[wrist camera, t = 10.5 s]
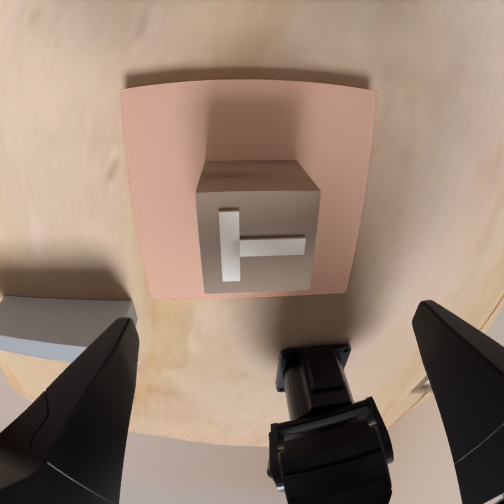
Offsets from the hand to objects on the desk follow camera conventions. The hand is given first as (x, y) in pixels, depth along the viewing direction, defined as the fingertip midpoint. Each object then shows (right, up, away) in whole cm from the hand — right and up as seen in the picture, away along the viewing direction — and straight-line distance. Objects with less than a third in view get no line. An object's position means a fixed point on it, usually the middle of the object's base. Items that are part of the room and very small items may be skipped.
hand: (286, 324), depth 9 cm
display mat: (-1, +5, +10) cm, 11 cm away
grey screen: (-17, -3, +13) cm, 22 cm away
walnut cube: (-1, +5, +9) cm, 10 cm away
